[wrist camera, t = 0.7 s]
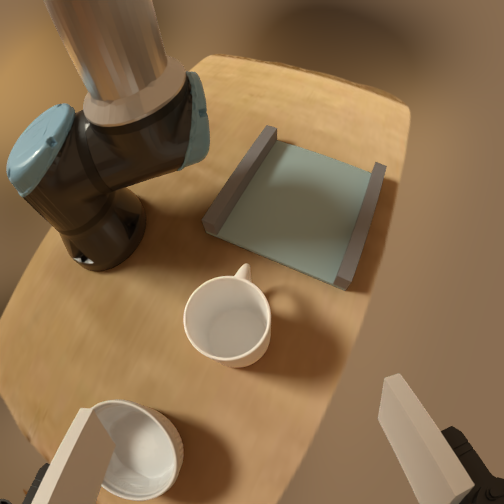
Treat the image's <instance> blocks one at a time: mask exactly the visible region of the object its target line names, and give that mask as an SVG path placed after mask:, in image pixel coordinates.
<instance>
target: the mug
mask: <svg viewBox="0 0 504 504" xmlns="http://www.w3.org/2000/svg"><path fill="white" fill-rule="evenodd" d="M184 328H185V332H186V334H187V337H188V339H189V340H190V342H191V344H192V345H193V346H194V347H195V348H196V349H197V350H198V351H199V352H200V353H202V354H203V355H205V356H207V357H209V358H211V359H213V360H214V361H216V362H218V363H220V364H222V365H225V366H228V367H235V368H238V367H245V366H248V365H251V364H253V363H255V362H256V361H258V360H259V359H260V358H261V357H262V356H263V355H264V353H265V352H266V350H267V348H268V346H269V343H270V337H271V310H270V306H269V303H268V301H267V299H266V297H265V295H264V294H263V292H262V291H261V290H260V289H259V288H258V287H257V286H256V285H254V284H253V283H252V282H251V271H250V265H249V264H247V263H246V264H244V265H242V266H241V268H240V269H239V270H238V271H237V273H236V274H235V276H221V277H216V278H213V279H211V280H209V281H206V282H205V283H203V284H202V285H200V286H199V287H198V288H197V289H196V290H195V291H194V292H193V294H192V295H191V296H190V298H189V300H188V302H187V304H186V307H185V311H184Z"/></svg>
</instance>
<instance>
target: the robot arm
mask: <svg viewBox="0 0 504 504" xmlns="http://www.w3.org/2000/svg"><path fill="white" fill-rule="evenodd" d="M43 1H44V3H45V5H46V7H47V10H48V12H49V14H50V16H51V18H52V20H53V23H54V25H55V27H56V29H57V31H58V33H59V35H60V37H61V39H62V41H63V43H64V45H65V47H66V49H67V51H68V53H69V55H70V57H71V59H72V61H73V63H74V65H75V67H76V69H77V71H78V73H79V75H80V77H81V79H82V80H83V82H84V84H85V86H86V88H87V90H88V93H87V95H86V97H85V100H84V105H83V110H82V111H79V112H77V113H75V110H74V108H73V107H71V106H70V105H68V104H58V105H55V106H53V107H51V108H49V109H48V110H47V111H45V112H44V113H42V114H41V115H40V116H39V117H37V118H36V119H35V120H34V121H33V122H32V123H31V124H30V125H29V126H28V127H27V128H26V129H25V131H24V132H23V133H22V135H21V136H20V137H19V139H18V140H17V142H16V143H15V145H14V147H13V149H12V151H11V153H10V156H9V159H8V162H7V176H8V178H9V180H10V182H11V183H12V184H13V186H14V187H15V188H16V189H17V191H18V193H19V195H20V196H22V197H23V198H24V199H25V200H26V201H27V202H28V203H29V204H30V205H31V206H32V207H33V208H34V209H35V210H36V211H37V212H38V213H39V214H40V215H41V216H42V217H43V218H44V219H45V220H47V221H48V222H49V223H50V224H51V225H52V226H53V227H54V228H55V229H56V230H57V231H58V232H59V233H60V236H61V238H62V240H63V242H64V245H65V247H66V249H67V251H68V253H69V255H70V256H71V257H72V258H73V259H74V260H75V261H76V262H77V263H78V264H79V265H81V266H82V267H84V268H86V269H88V270H92V271H102V270H107V269H110V268H112V267H115V266H116V265H118V264H120V263H121V262H123V261H124V260H125V259H127V258H128V257H129V256H130V255H131V254H132V253H133V251H134V250H135V249H136V247H137V246H138V244H139V243H140V241H141V239H142V237H143V234H144V231H145V226H146V214H145V210H144V207H143V205H142V204H141V202H140V200H139V199H138V197H137V196H136V195H135V194H134V193H133V192H132V191H131V190H129V189H128V188H126V187H128V186H131V185H134V184H137V183H140V182H143V181H146V180H149V179H152V178H155V177H158V176H161V175H165V174H168V173H171V172H175V171H180V170H182V169H183V168H184V167H187V166H190V165H192V164H195V163H198V162H200V161H202V160H203V159H204V158H205V157H206V156H207V154H208V151H209V146H210V131H209V120H208V115H207V113H206V111H207V108H206V99H205V94H204V90H203V86H202V83H201V80H200V78H199V76H198V74H197V73H195V72H185V69H184V66H183V65H182V63H181V62H180V61H178V60H177V59H175V58H173V57H170V56H166V53H165V49H164V45H163V42H162V38H161V34H160V30H159V27H158V22H157V19H156V15H155V11H154V7H153V3H152V0H43ZM378 420H379V422H380V424H381V426H382V428H383V430H384V432H385V434H386V436H387V438H388V440H389V442H390V444H391V446H392V448H393V450H394V452H395V454H396V456H397V458H398V460H399V462H400V464H401V467H402V468H403V471H404V472H405V475H406V477H407V479H408V481H409V483H410V485H411V487H412V490H413V492H414V494H415V496H416V498H417V500H418V502H419V504H504V479H502V478H496V477H494V476H493V475H492V474H491V473H490V472H489V470H488V469H487V468H486V466H485V464H484V463H483V462H482V460H481V459H480V457H479V456H478V454H477V453H476V451H475V450H473V447H472V446H471V445H470V443H468V440H467V439H466V437H465V436H464V434H463V433H462V432H461V431H459V430H458V429H456V428H454V427H453V426H451V427H449V428H447V429H445V430H443V431H440V430H439V429H438V427H437V426H436V424H435V423H434V421H433V420H432V418H431V417H430V416H429V414H428V413H427V411H426V410H425V409H424V407H423V405H422V404H421V402H420V401H419V400H418V398H417V397H416V395H415V394H414V392H413V391H412V390H411V388H410V387H409V385H408V384H407V383H406V381H405V380H404V378H403V377H402V376H401V374H400V373H398V374H395V375H392V376H389V377H385V378H384V384H383V390H382V397H381V403H380V409H379V415H378ZM115 446H116V445H115V443H114V442H113V440H112V439H111V437H110V436H109V434H108V433H107V431H106V429H105V428H104V426H103V425H102V423H101V421H100V420H99V418H98V416H97V415H96V413H95V411H94V410H93V409H88V408H80V410H79V412H78V413H77V415H76V417H75V419H74V421H73V422H72V424H71V426H70V428H69V430H68V431H67V433H66V435H65V437H64V439H63V441H62V443H61V444H60V446H59V448H58V450H57V452H56V454H55V456H54V458H53V460H52V462H51V464H48V463H46V464H45V465H44V466H42V468H40V469H39V471H38V473H37V475H36V477H35V480H34V481H33V483H32V486H31V487H30V489H29V491H28V493H27V495H26V497H25V499H24V502H23V504H95V503H96V500H97V497H98V494H99V491H100V488H101V485H102V482H103V479H104V477H105V474H106V471H107V468H108V465H109V463H110V460H111V457H112V454H113V452H114V449H115ZM0 504H12V503H11V502H9V501H8V500H5V499H0Z"/></svg>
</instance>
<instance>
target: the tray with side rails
mask: <svg viewBox="0 0 504 504" xmlns="http://www.w3.org/2000/svg"><path fill="white" fill-rule="evenodd" d="M386 167H387V166H385V165H382V164H380V163H377V162H375V165H374V168H373V170H372V173H370V172H367V171H365V170H362V169H359V168H357V167H354V166H352V165H349V164H346V163H344V162H341V161H338V160H336V159H333V158H330V157H327V156H324V155H321V154H319V153H316V152H313V151H310V150H307V149H304V148H301V147H297V146H294V145H291V144H288V143H285V142H281V141H278V140H277V128H275V127H271V126H268V125H267V126H266V127H265V128H264V130H263V131H262V132H261V134H260V135H259V137H258V138H257V139H256V141H255V142H254V143H253V145H252V146H251V148H250V149H249V151H248V152H247V153H246V155H245V156H244V158H243V159H242V160H241V162H240V163H239V165H238V166H237V168H236V169H235V171H234V172H233V173H232V175H231V176H230V178H229V179H228V181H227V182H226V184H225V185H224V187H223V188H222V190H221V191H220V193H219V194H218V196H217V197H216V199H215V200H214V202H213V203H212V205H211V206H210V208H209V209H208V211H207V212H206V214H205V215H204V217H203V218H202V223H203V226H204V228H205V231H206V233H208V234H211V235H213V236H215V237H218V238H220V239H223V240H225V241H227V242H230V243H232V244H234V245H237V246H239V247H242V248H244V249H246V250H249V251H251V252H254V253H256V254H258V255H261V256H263V257H265V258H268V259H270V260H273V261H275V262H277V263H280V264H282V265H285V266H287V267H289V268H292V269H294V270H296V271H299V272H301V273H304V274H306V275H308V276H311V277H313V278H316V279H318V280H320V281H323V282H325V283H327V284H330V285H332V286H335V287H337V288H339V289H342V290H344V291H345V290H346V289H347V288H348V286H349V285H350V283H351V282H352V279H353V276H354V274H355V271H356V268H357V265H358V262H359V259H360V256H361V253H362V250H363V247H364V244H365V241H366V238H367V234H368V231H369V228H370V225H371V221H372V218H373V215H374V211H375V208H376V204H377V201H378V197H379V194H380V190H381V186H382V182H383V179H384V175H385V171H386Z"/></svg>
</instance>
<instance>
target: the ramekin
mask: <svg viewBox="0 0 504 504" xmlns="http://www.w3.org/2000/svg"><path fill="white" fill-rule="evenodd" d="M91 409H93V410H94V411H95V413H96V415H97V416H98V418H99V420H100V421H101V423H102V425H103V426H104V428H105V429H106V431H107V433H108V434H109V436H110V437H111V439H112V440H113V442H114V443H115V445H116V446H115V449H114V452H113V454H112V457H111V460H110V463H109V465H108V468H107V471H106V474H105V477H104V479H103V482H102V485H101V486H102V487H103V488H104V489H106V490H107V491H109V492H110V493H112V494H114V495H116V496H118V497H121V498H124V499H128V500H134V501H145V500H150V499H154V498H156V497H158V496H160V495H162V494H163V493H165V492H166V491H168V490H169V489H170V488H171V487H172V485H173V484H174V483H175V481H176V479H177V477H178V474H179V471H180V469H181V465H182V463H183V457H184V454H183V452H184V449H183V443H182V439H181V437H180V434H179V433H178V432H177V429H176V428H175V427H174V425H173V424H172V423H171V422H170V420H169V419H167V418H166V417H165V416H164V415H162V414H161V413H160V412H158V411H156V410H154V409H152V408H150V407H146V406H144V405H140V404H138V403H135V402H131V401H127V400H108V401H103V402H101V403H98V404H96V405H95V406H93V407H92V408H91Z"/></svg>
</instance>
